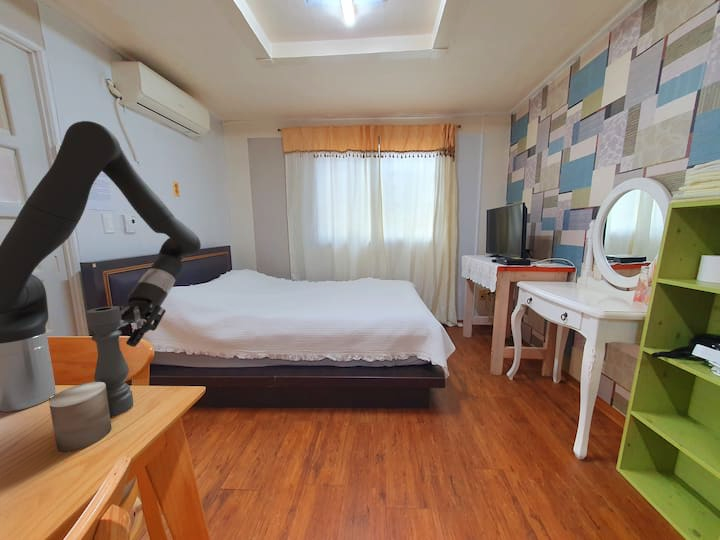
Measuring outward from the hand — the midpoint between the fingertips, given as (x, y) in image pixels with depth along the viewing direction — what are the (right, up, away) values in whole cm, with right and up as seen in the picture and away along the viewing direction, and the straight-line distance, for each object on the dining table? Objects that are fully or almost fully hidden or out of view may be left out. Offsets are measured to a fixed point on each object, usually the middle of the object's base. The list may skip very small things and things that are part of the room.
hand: (115, 344), depth 65 cm
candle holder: (0, -16, 0) cm, 16 cm away
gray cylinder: (+2, -17, -9) cm, 19 cm away
